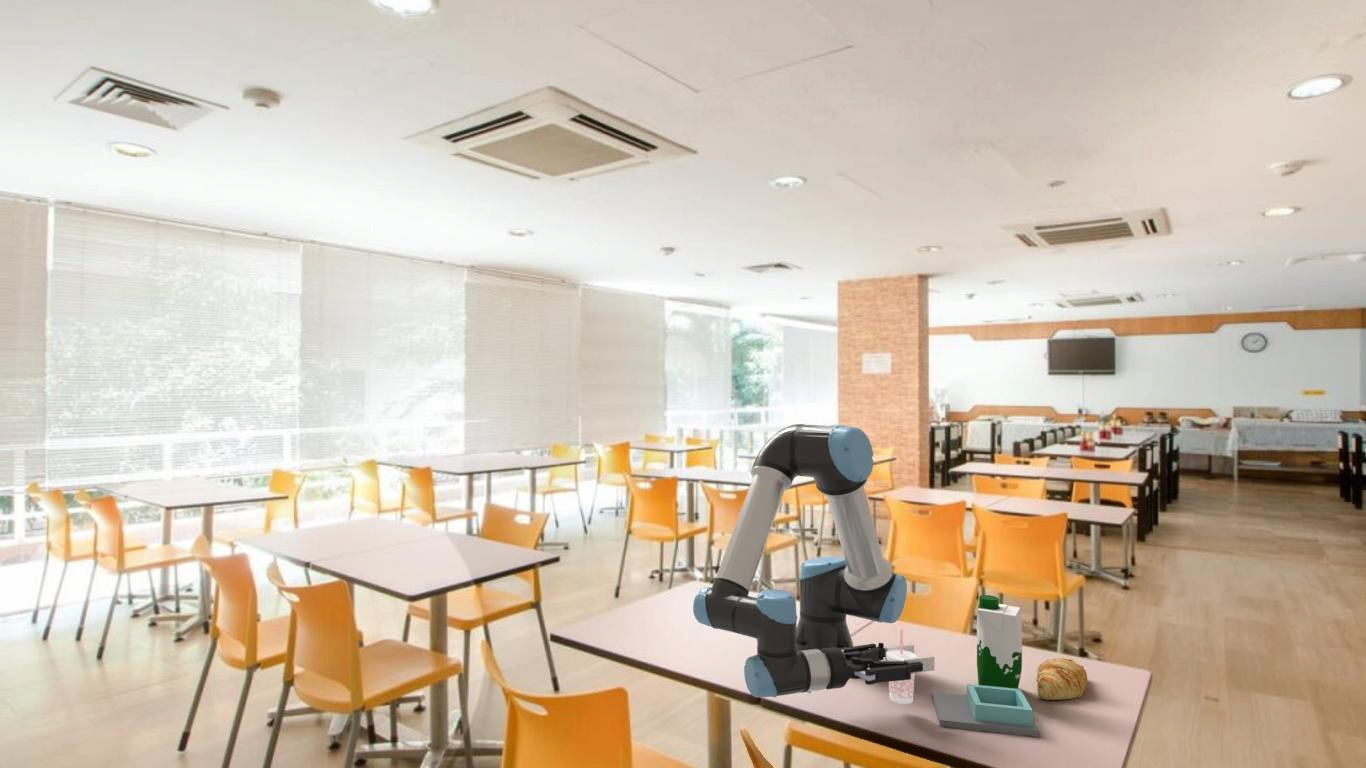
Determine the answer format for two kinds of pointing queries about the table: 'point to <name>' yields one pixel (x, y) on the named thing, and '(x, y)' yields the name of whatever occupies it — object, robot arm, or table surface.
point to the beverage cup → (903, 688)
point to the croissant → (1061, 679)
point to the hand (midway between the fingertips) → (922, 656)
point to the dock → (986, 710)
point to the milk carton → (998, 643)
